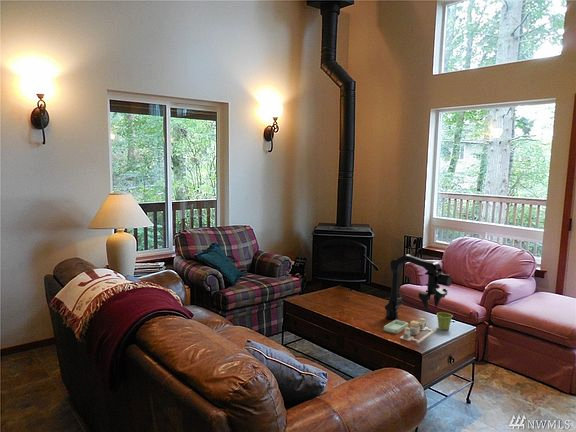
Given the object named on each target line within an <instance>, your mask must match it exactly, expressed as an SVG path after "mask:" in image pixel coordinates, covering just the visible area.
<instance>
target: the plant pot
mask: <svg viewBox="0 0 576 432" xmlns="http://www.w3.org/2000/svg"><path fill="white" fill-rule="evenodd" d="M436 317H437V323H438V324H437V325H438V328H439V330H443V331H447V330H448V331H449V330H450V327H451V322H452V318H453V314H451V313H448V312H442V311H441V312H437V313H436Z"/></svg>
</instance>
